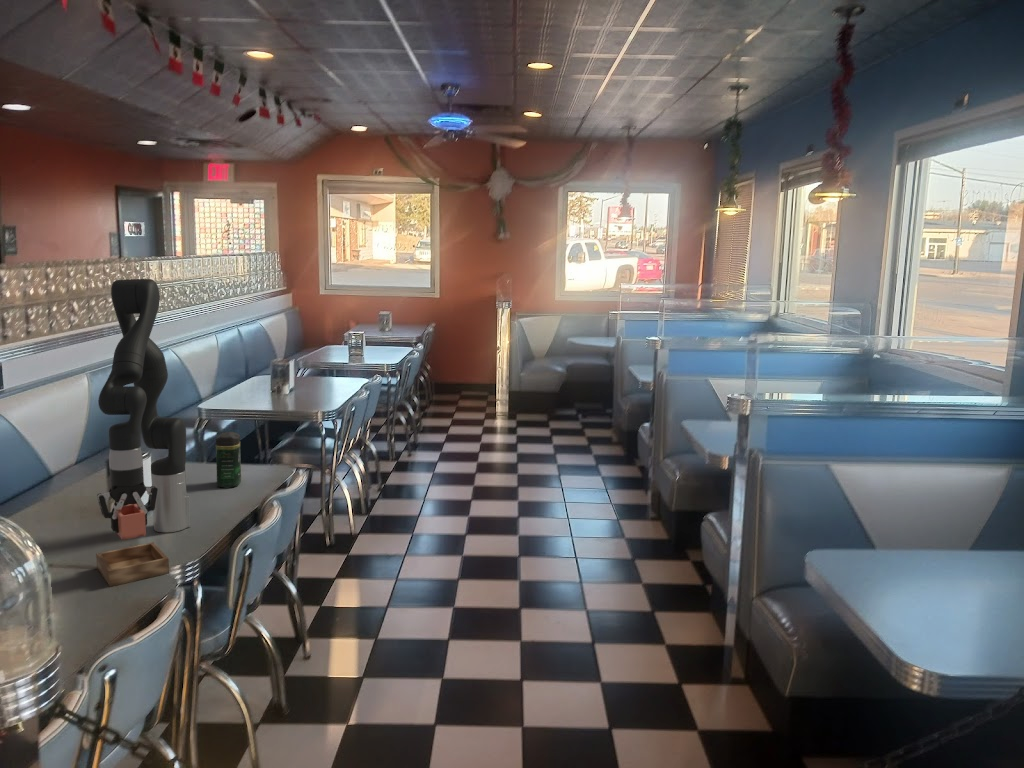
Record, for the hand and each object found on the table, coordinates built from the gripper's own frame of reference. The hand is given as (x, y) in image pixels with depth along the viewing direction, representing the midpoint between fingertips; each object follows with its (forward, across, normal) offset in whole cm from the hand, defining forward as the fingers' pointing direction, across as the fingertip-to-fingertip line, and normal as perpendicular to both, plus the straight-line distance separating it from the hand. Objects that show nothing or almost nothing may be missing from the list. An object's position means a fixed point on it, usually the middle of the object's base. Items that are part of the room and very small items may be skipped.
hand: (129, 529), depth 197 cm
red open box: (+1, 0, 0) cm, 1 cm away
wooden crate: (+11, 0, 0) cm, 11 cm away
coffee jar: (+10, +46, +60) cm, 77 cm away
